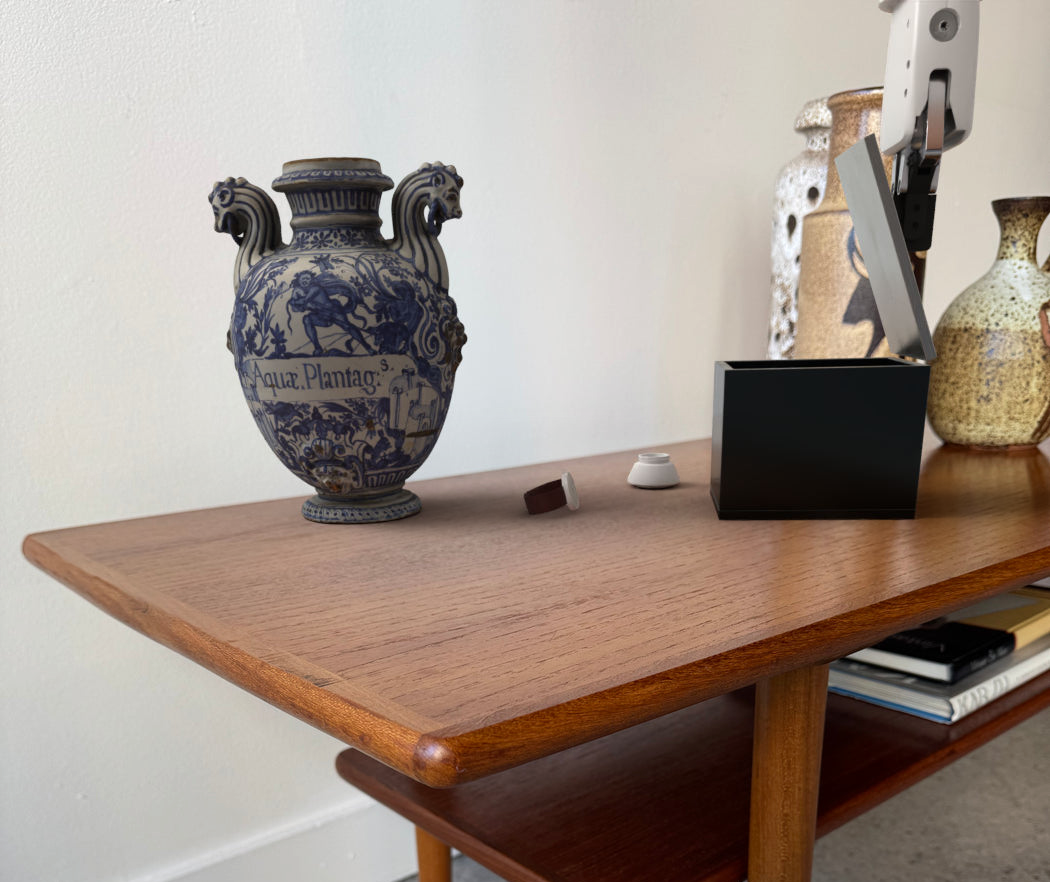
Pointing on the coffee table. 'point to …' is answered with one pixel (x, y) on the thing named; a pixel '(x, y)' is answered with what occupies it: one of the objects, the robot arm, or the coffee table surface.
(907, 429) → the waste bin
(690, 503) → the coffee table surface
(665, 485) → the lidless jar
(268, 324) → the decorative vase
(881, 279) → the bin lid
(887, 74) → the robot arm
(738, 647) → the coffee table surface
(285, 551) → the coffee table surface
